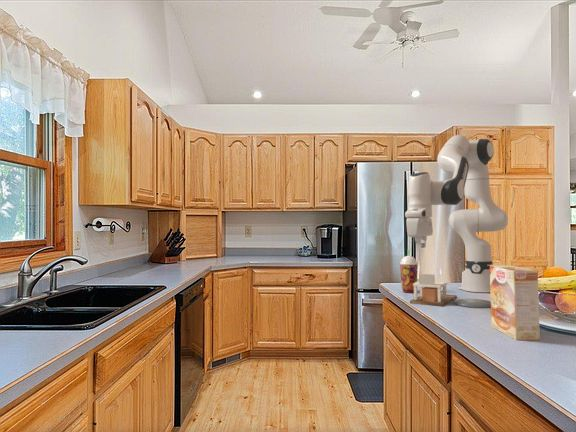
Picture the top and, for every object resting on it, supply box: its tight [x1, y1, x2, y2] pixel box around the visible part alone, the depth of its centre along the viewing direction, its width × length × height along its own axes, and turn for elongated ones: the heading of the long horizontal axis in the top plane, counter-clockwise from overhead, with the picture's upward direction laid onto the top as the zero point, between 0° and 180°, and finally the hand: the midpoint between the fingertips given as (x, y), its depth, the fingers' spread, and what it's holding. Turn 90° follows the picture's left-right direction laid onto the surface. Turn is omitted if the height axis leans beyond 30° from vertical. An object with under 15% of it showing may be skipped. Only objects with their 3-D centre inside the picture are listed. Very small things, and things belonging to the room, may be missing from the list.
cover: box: [413, 273, 448, 302], centre depth 170 cm, size 9×11×11 cm
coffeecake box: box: [490, 264, 541, 341], centre depth 122 cm, size 15×7×20 cm, turn 178°
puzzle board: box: [409, 293, 457, 307], centre depth 174 cm, size 22×13×1 cm, turn 144°
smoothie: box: [399, 249, 419, 294], centre depth 196 cm, size 8×8×20 cm
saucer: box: [454, 298, 491, 309], centre depth 164 cm, size 14×14×1 cm
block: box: [422, 287, 438, 302], centre depth 170 cm, size 5×5×6 cm
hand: (421, 247), depth 162 cm, fingers open, 3 cm apart
